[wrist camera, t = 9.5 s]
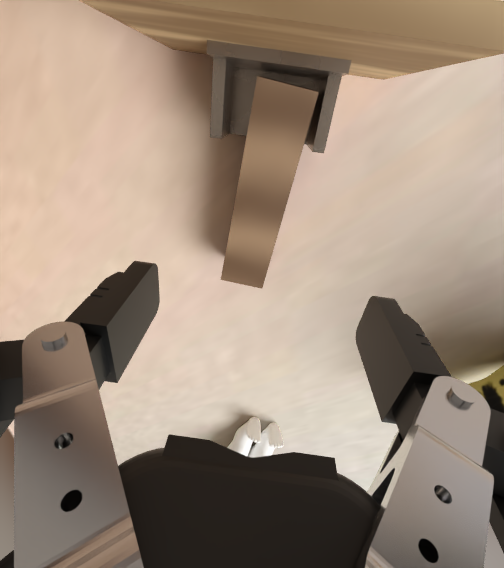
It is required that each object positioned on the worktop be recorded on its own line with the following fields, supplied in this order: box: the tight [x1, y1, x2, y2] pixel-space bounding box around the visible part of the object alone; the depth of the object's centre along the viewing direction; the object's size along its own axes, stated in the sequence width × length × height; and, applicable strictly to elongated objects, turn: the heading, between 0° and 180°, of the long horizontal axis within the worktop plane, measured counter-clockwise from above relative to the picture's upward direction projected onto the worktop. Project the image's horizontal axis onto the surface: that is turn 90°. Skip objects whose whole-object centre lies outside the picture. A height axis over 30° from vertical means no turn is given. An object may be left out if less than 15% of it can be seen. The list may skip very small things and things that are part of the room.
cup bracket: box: [207, 40, 352, 153], centre depth 20 cm, size 5×8×7 cm, turn 83°
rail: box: [221, 76, 319, 288], centre depth 25 cm, size 16×4×4 cm, turn 168°
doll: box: [227, 417, 284, 458], centre depth 50 cm, size 19×9×30 cm
